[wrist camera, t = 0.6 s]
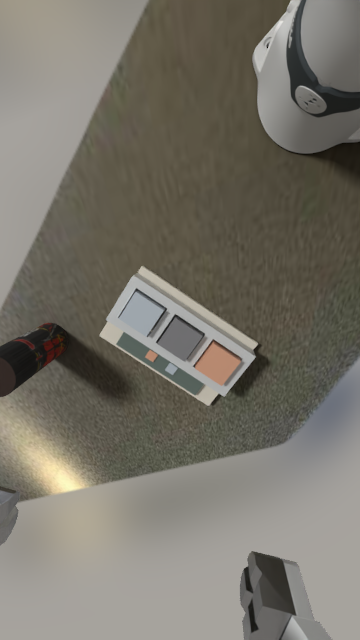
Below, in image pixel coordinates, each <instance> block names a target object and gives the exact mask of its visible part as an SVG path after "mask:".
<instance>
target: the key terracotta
mask: <svg viewBox="0 0 360 640" xmlns="http://www.w3.org/2000/svg"><path fill="white" fill-rule="evenodd" d="M240 362H241V360H240V356H238V355H236V354H235V353H233V352H232V351H230V350H229V349H227V348H226V347H224V346H223V345H221V344H220V343H218V342H217V341H215V340H214V339H213V340H212V341H211V343H210V344H209V346H208V347H207V348H206V350H205V351H204V352H203V354H202V355H201V356H200V358H199V359H198V360H197V362H196V365H195V369H196V370H198V371H199V372H201V373H202V374H204V375H205V376H207V377H208V378H210V379H212V380H213V381H215V382H216V383H218V384H219V385H221V386H222V385H223V384H224V383H225V381H226V380H227V379H228V378H229V376H230V375H231V374H232V373H233V371H234V370H235V369H236V367H237V366H238V365H239V364H240Z"/></svg>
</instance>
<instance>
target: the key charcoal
mask: <svg viewBox="0 0 360 640" xmlns="http://www.w3.org/2000/svg"><path fill="white" fill-rule="evenodd" d="M202 337H203V332H202V331H200V330H199V329H197V328H196V327H194V326H193V325H191V324H190V323H188V322H187V321H185V320H184V319H182V318H181V317H179V316H178V315H176V316H175V317H174V319H173V320H172V322H171V323H170V325H169V326H168V328H167V329H166V331H165V332H164V334H163V335H162V336H161V338H160V339H159V342H158V345H159V346H161V347H163V348H164V349H166V350H167V351H169V352H170V353H172V354H173V355H175V356H176V357H178V358H179V359H181V360H182V361H184V362H185V360H186V359H187V357H188V356H189V355H190V353H191V352H192V351H193V349H194V348H195V347H196V345H197V344H198V342H199V341H200V340H201V338H202Z"/></svg>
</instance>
